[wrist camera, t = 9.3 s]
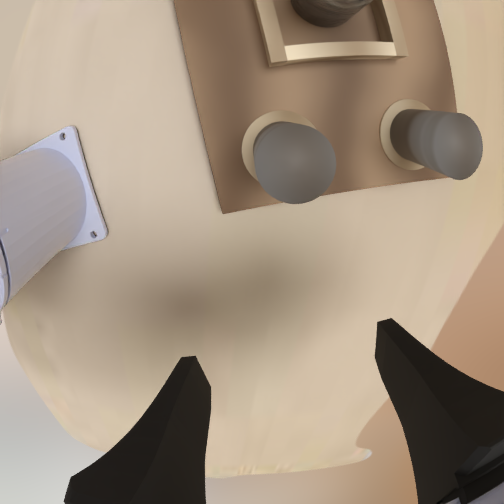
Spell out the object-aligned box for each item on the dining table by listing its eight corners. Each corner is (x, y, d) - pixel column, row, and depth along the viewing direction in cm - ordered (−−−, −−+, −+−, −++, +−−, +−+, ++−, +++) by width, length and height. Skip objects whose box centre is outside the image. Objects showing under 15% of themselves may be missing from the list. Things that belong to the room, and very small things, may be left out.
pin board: (223, 208, 18) (213, 252, 13) (171, -26, 11) (142, -71, 6) (452, 172, 17) (508, 199, 12) (411, -37, 10) (455, -66, 5)
